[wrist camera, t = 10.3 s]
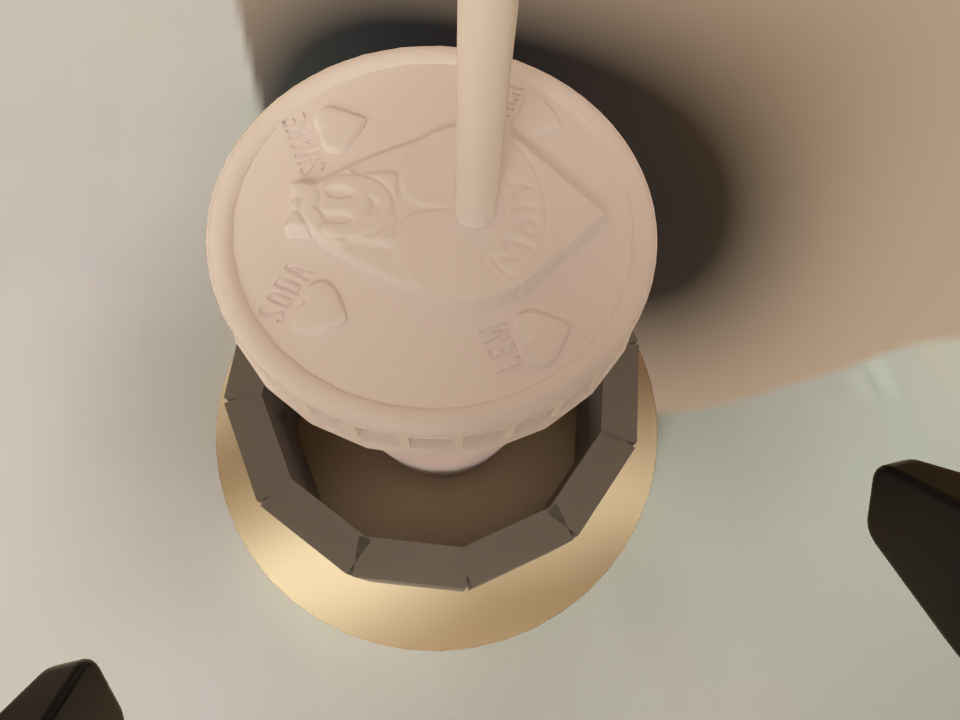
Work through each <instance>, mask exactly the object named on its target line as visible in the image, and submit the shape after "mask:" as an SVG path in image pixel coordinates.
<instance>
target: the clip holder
mask: <svg viewBox="0 0 960 720" xmlns="http://www.w3.org/2000/svg"><path fill="white" fill-rule="evenodd" d="M636 341H637V338H636V336H635V335H634V333H633V331H632V333H631V335H630V338H629V341H628V343H627V346H626V349H625V351H624V352H623V354H622V355H621V356H620V358H619V359H618V360H617V362H616V363H615V364H614V366H613V367H612V368H611V370H610V371H609V372H608V373H607V375H606V376H605V377H604V379H603V380H602V381H601V383H600V384H599V385H598V387H597V388H596V389H595V391H594V392H593V393H592V394H591V395H590V396H588V397H587V398H586V399H584V400H583V401H582V402H580V403H579V404H578V405H576V406H575V407H574V408H572V409H571V410H570V411H568V412H567V413H566V414H564V415H563V416H562V417H560V418H559V419H558V420H556V421H555V422H554V423H552V424H551V425H550V426H548V427H547V428H545V429H543V430H540V431H538V432H535V433H533V434H530V435H528V436H525V437H522V438H520V439H517V440H515V441H512V442H510V443H507V444H505V445H504V446H503V447H502V448H501V449H500V450H498V451H497V452H496V453H495V454H494V455H493V456H492V457H491V458H490V459H489V460H487V461H486V462H485V463H484V464H482V465H481V466H480V467H478V468H476V469H474V470H472V471H470V472H468V473H465V474H462V475H459V476H454V477H443V478H439V477H430V476H425V475H421V474H419V473H416V472H413V471H411V470H409V469H408V468H406V467H404V466H403V465H401V464H400V463H399V462H397V461H396V460H395V459H394V458H392V457H391V456H390V455H388V454H387V453H386V452H384V451H383V450H376V449H369V448H366V447H363V446H361V445H359V444H356V443H354V442H352V441H349V440H347V439H345V438H342V437H340V436H338V435H336V434H333V433H331V432H329V431H326V430H324V429H322V428H319V427H317V426H315V425H312V424H311V423H309V422H308V421H307V420H306V419H305V418H303V417H302V416H301V415H300V414H298V413H297V412H296V411H295V410H294V409H292V408H291V407H290V406H289V405H287V404H286V403H285V402H284V401H283V400H281V399H280V398H279V397H278V396H276V395H275V394H274V393H273V392H272V391H270V390H269V389H268V388H267V387H266V386H265V385H264V383H263V382H262V380H261V379H260V377H259V376H258V374H257V373H256V371H255V370H254V368H253V367H252V365H251V364H250V362H249V361H248V360H247V358H246V357H245V355H244V354H243V352H242V351H241V349H240V348H239V346H238V345H237V346H236V350H235V354H234V357H233V359H232V361H231V363H230V366H229V370H228V373H227V376H226V379H225V382H224V385H223V388H222V393H221V399H220V405H219V410H218V416H217V438H216V448H217V458H218V469H219V476H220V480H221V484H222V488H223V492H224V496H225V501H226V504H227V506H228V509H229V511H230V514H231V516H232V519H233V521H234V524H235V526H236V529H237V531H238V533H239V534H240V536H241V538H242V540H243V541H244V543H245V545H246V546H247V548H248V550H249V552H250V553H251V555H252V557H253V558H254V559H255V560H256V562H257V563H258V564H259V566H260V567H261V568H262V569H263V571H264V572H265V573H266V574H267V576H268V577H269V578H270V579H271V581H272V582H274V583H275V584H276V585H277V586H278V587H279V588H280V589H281V590H282V591H283V592H284V593H285V594H286V595H287V596H288V597H289V598H290V599H292V600H293V601H294V602H295V603H297V604H298V605H299V606H301V607H302V608H304V609H305V610H307V611H308V612H309V613H311V614H312V615H314V616H315V617H316V618H318V619H319V620H321V621H323V622H325V623H327V624H329V625H331V626H333V627H335V628H337V629H339V630H341V631H343V632H345V633H347V634H350V635H353V636H356V637H359V638H362V639H365V640H368V641H371V642H374V643H377V644H381V645H386V646H392V647H398V648H403V649H409V650H431V651H446V650H455V649H465V648H474V647H478V646H482V645H486V644H490V643H494V642H498V641H502V640H506V639H508V638H511V637H513V636H516V635H518V634H520V633H523V632H525V631H528V630H530V629H533V628H535V627H537V626H539V625H540V624H542V623H544V622H545V621H547V620H549V619H550V618H552V617H554V616H556V615H557V614H559V613H561V612H562V611H564V610H565V609H566V608H567V607H569V606H570V605H571V604H573V603H574V602H575V601H576V600H578V599H579V598H580V597H581V596H583V595H584V594H585V593H586V592H588V590H589V589H590V588H591V587H592V586H593V585H594V584H595V583H596V582H597V581H598V580H599V579H600V578H601V577H602V576H603V575H604V574H605V573H606V572H607V571H608V569H609V568H610V567H611V565H612V564H613V562H614V561H615V560H616V558H617V557H618V555H619V554H620V553H621V551H622V550H623V549H624V547H625V546H626V544H627V542H628V540H629V538H630V536H631V534H632V533H633V531H634V529H635V527H636V525H637V523H638V521H639V519H640V516H641V514H642V511H643V508H644V505H645V503H646V500H647V497H648V494H649V491H650V487H651V482H652V477H653V473H654V468H655V462H656V449H657V419H656V407H655V402H654V396H653V391H652V386H651V381H650V378H649V375H648V372H647V369H646V366H645V363H644V360H643V357H642V355H641V353H640V351H639V345H637V344H636Z"/></svg>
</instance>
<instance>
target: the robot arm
mask: <svg viewBox="0 0 960 720" xmlns="http://www.w3.org/2000/svg"><path fill="white" fill-rule="evenodd" d="M867 523H868V529H869V532H870V535H871V537H872V539H873V540H874V542H875V544H876V545H877V546H878V548H879V549H880V551H881V552H882V553H883V555H884V556H885V557H886V559H887V560H888V561H889V563H890V564H891V566H892V567H893V568H894V570H895V571H896V572H897V574H898V575H899V577H900V578H901V579H902V581H903V582H904V583H905V585H906V586H907V587H908V589H909V590H910V592H911V593H912V594H913V596H914V597H915V598H916V600H917V601H918V603H919V604H920V605H921V607H922V608H923V609H924V611H925V612H926V613H927V615H928V616H929V618H930V619H931V620H932V622H933V623H934V624H935V626H936V627H937V629H938V630H939V631H940V633H941V634H942V635H943V637H944V638H945V639H946V640H947V642H948V643H949V644H950V646H951V647H952V648H953V650H954V651H955V652H956V653H957V655H958V656H959V657H960V472H956V471H953V470H950V469H946V468H943V467H939V466H936V465H932V464H929V463H926V462H922V461H919V460H913V459H909V460H903V461H899V462H894V463H890V464H886V465H883V466H881V467H879V468H878V469H877V470H876V472H875V473H874V476H873V481H872V489H871V496H870V503H869V511H868V518H867ZM0 720H124V717H123V713H122V710H121V707H120V705H119V703H118V701H117V700H116V698H115V696H114V694H113V692H112V690H111V688H110V687H109V685H108V683H107V681H106V679H105V677H104V675H103V674H102V672H101V670H100V668H99V667H98V665H97V664H96V663H95V662H94V661H92V660H90V659H81V660H77V661H73V662H68V663H64V664H60V665H56V666H53V667H50V668H48V669H46V670H45V671H44V672H42V673H41V674H40V675H39V676H38V677H37V678H36V679H35V680H34V681H33V682H32V683H31V684H30V685H29V686H28V687H26V688H25V689H24V690H23V691H22V692H21V693H20V694H19V695H18V696H17V697H16V698H15V699H14V700H13V701H12V702H11V703H10V704H9V705H8V706H7V707H6V708H5V709H4V710H3V711H2V712H1V713H0Z"/></svg>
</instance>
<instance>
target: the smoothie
mask: <svg viewBox="0 0 960 720" xmlns="http://www.w3.org/2000/svg"><path fill="white" fill-rule="evenodd" d="M518 4H519V0H457V47H448V46H417V47H401V48H396V49H390V50H384V51H379V52H375V53H369V54H365V55H361V56H359V57H356V58H353V59H350V60H346V61H344V62H341V63H339V64H336V65H334V66H331V67H328V68H326V69H324V70H322V71H320V72H319V73H316V74H314V75H313V76H310V77H309V78H307V79H305V80H304V81H302V82H301V83H299V84H297V85H296V86H294V87H292V88H291V89H290V90H288V91H287V92H286V93H284V94H283V95H282V96H281V97H279V98H278V99H276V100H275V101H274V102H273V103H272V104H271V105H270V106H268V107H267V108H266V109H265V110H264V111H263V112H262V113H261V114H260V115H259V116H258V117H257V118H256V119H255V120H254V122H253V123H252V124H251V125H250V126H249V127H248V128H247V130H246V131H245V132H244V134H243V135H242V136H241V138H240V139H239V140H238V142H237V143H236V145H235V146H234V148H233V150H232V151H231V153H230V155H229V156H228V158H227V160H226V162H225V164H224V166H223V168H222V170H221V172H220V174H219V177H218V180H217V183H216V186H215V188H214V191H213V194H212V199H211V203H210V207H209V211H208V220H207V228H206V254H207V263H208V271H209V275H210V280H211V284H212V288H213V292H214V294H215V297H216V300H217V303H218V305H219V308H220V311H221V313H222V315H223V317H224V319H225V321H226V323H227V325H228V327H229V328H230V330H231V332H232V333H233V335H234V339H235V342H236V343H237V345H238V346H239V348H240V349H241V351H242V352H243V354H244V355H245V357H246V358H247V360H248V361H249V362H250V364H251V365H252V367H253V368H254V370H255V371H256V373H257V374H258V376H259V377H260V379H261V380H262V382H263V383H264V385H265V386H266V387H267V388H268V389H269V390H270V391H272V392H273V393H274V394H275V395H276V396H278V397H279V398H280V399H281V400H283V401H284V402H285V403H286V404H287V405H289V406H290V407H291V408H292V409H294V410H295V411H296V412H297V413H298V414H300V415H301V416H302V417H303V418H305V419H306V420H307V421H308V422H309V423H311V424H312V425H315V426H317V427H319V428H322V429H324V430H326V431H329V432H331V433H333V434H336V435H338V436H340V437H342V438H345V439H347V440H349V441H352V442H354V443H356V444H359V445H361V446H363V447H366V448H369V449H376V450H383V451H384V452H386V453H387V454H388V455H390V456H391V457H392V458H394V459H395V460H396V461H397V462H399V463H400V464H401V465H403V466H404V467H406V468H408V469H409V470H411V471H413V472H416V473H419V474H421V475H425V476H430V477H439V478H443V477H454V476H459V475H462V474H465V473H468V472H470V471H472V470H474V469H476V468H478V467H480V466H481V465H482V464H484V463H485V462H486V461H487V460H489V459H490V458H491V457H492V456H493V455H494V454H495V453H496V452H497V451H498V450H500V449H501V448H502V447H503V446H504V445H505V444H507V443H510V442H512V441H515V440H517V439H520V438H522V437H525V436H528V435H530V434H533V433H535V432H538V431H540V430H543V429H545V428H547V427H548V426H550V425H551V424H552V423H554V422H555V421H556V420H558V419H559V418H560V417H562V416H563V415H564V414H566V413H567V412H568V411H570V410H571V409H572V408H574V407H575V406H576V405H578V404H579V403H580V402H582V401H583V400H584V399H586V398H587V397H588V396H590V395H591V394H592V393H593V392H594V391H595V389H596V388H597V387H598V385H599V384H600V383H601V381H602V380H603V379H604V377H605V376H606V375H607V373H608V372H609V371H610V370H611V368H612V367H613V366H614V364H615V363H616V362H617V360H618V359H619V358H620V356H621V355H622V354H623V352H624V351H625V349H626V346H627V343H628V341H629V338H630V335H631V333H632V330H633V329H634V327H635V325H636V323H637V322H638V319H639V317H640V315H641V313H642V311H643V308H644V306H645V304H646V302H647V298H648V295H649V292H650V289H651V285H652V282H653V277H654V271H655V266H656V256H657V226H656V219H655V212H654V206H653V202H652V199H651V195H650V191H649V188H648V185H647V182H646V180H645V177H644V175H643V172H642V170H641V168H640V166H639V164H638V162H637V160H636V158H635V156H634V154H633V153H632V151H631V150H630V148H629V147H628V145H627V143H626V142H625V140H624V139H623V138H622V136H621V135H620V134H619V132H617V130H616V129H615V127H614V126H613V125H612V124H611V123H610V122H609V120H607V118H606V117H605V116H604V115H603V114H602V113H601V112H600V111H599V110H598V109H597V108H596V107H594V106H593V105H592V104H591V103H590V102H589V101H587V100H586V99H585V98H584V97H583V96H581V95H580V94H579V93H577V92H576V91H575V90H573V89H572V88H570V87H569V86H567V85H566V84H564V83H562V82H561V81H559V80H557V79H556V78H554V77H553V76H551V75H548V74H546V73H544V72H542V71H540V70H538V69H536V68H534V67H532V66H529V65H527V64H524V63H522V62H520V61H518V60H513V59H512V58H513V49H514V40H515V31H516V22H517V14H518Z"/></svg>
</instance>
